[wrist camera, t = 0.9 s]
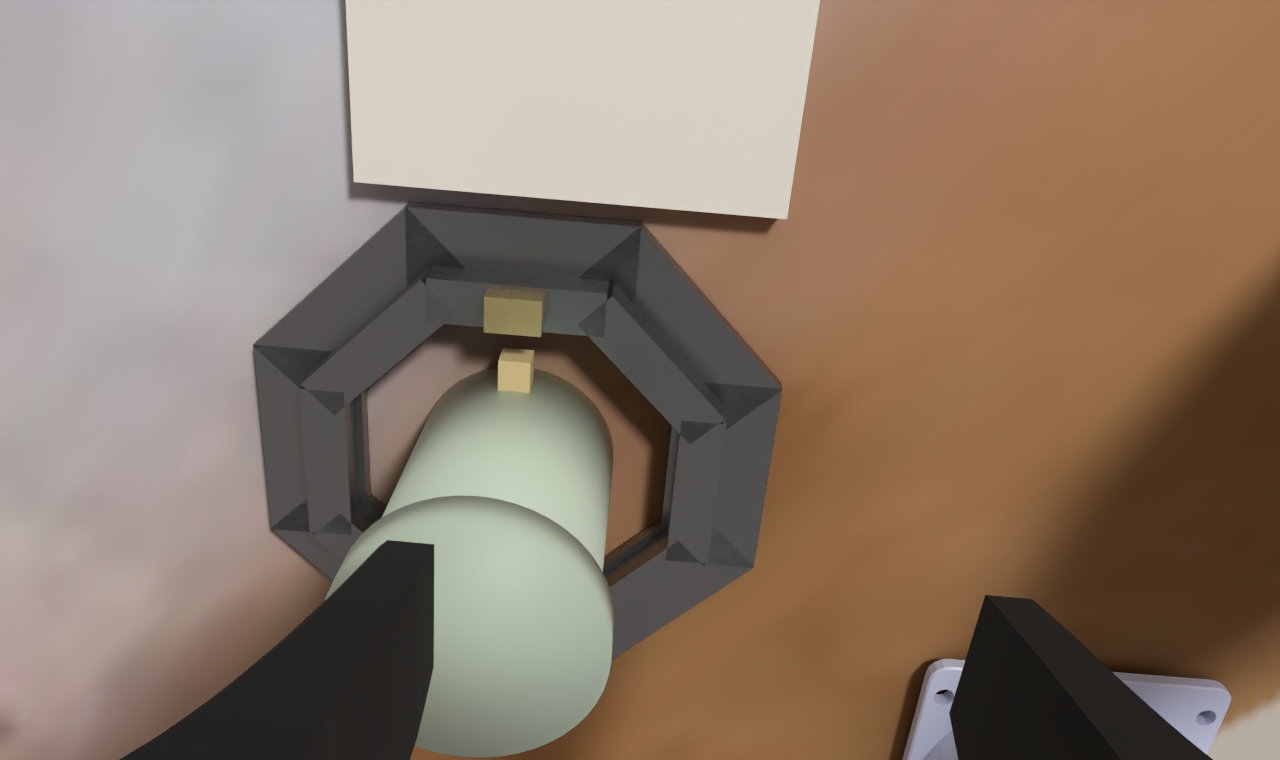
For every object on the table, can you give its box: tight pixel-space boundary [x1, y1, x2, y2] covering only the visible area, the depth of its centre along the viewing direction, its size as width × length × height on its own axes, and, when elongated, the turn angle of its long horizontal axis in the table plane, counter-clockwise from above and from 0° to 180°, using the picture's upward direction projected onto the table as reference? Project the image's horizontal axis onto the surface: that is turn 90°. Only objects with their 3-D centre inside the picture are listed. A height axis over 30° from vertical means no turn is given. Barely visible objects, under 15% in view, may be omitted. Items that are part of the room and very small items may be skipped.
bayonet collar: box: [253, 202, 782, 660], centre depth 23 cm, size 12×12×2 cm
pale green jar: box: [325, 348, 614, 758], centre depth 21 cm, size 6×5×7 cm
